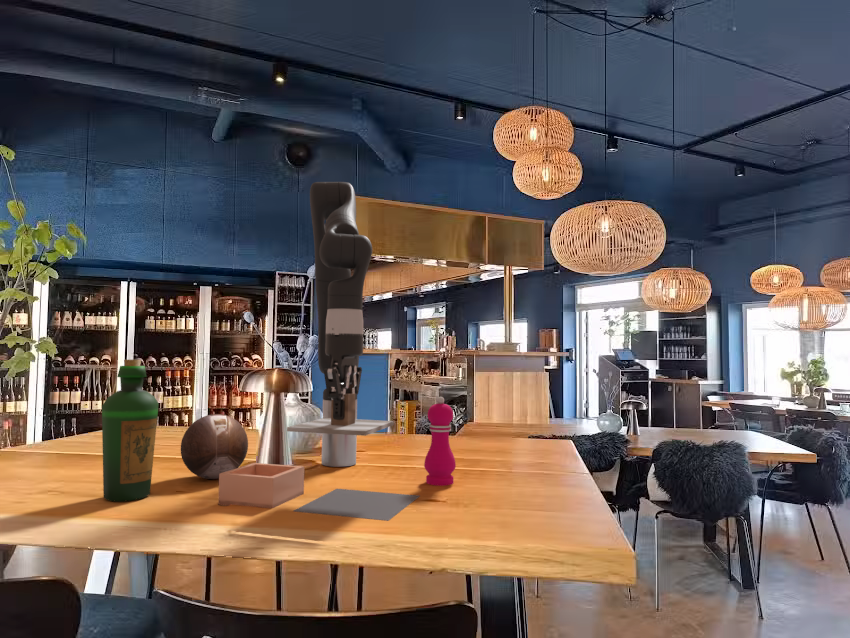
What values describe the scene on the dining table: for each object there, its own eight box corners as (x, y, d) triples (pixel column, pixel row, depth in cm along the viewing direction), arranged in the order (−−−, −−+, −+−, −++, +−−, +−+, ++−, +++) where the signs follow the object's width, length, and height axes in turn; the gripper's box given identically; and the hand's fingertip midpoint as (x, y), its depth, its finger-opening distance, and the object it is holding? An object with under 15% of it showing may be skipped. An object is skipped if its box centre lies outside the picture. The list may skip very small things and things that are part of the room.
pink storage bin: (253, 491, 124) (254, 462, 124) (303, 495, 120) (304, 466, 121) (218, 504, 112) (219, 473, 113) (272, 510, 109) (273, 478, 109)
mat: (336, 490, 125) (336, 488, 125) (420, 497, 120) (420, 495, 120) (292, 513, 107) (292, 510, 107) (388, 522, 102) (388, 520, 102)
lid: (324, 421, 125) (324, 390, 125) (393, 424, 121) (394, 392, 121) (287, 431, 110) (287, 395, 110) (365, 435, 105) (366, 398, 106)
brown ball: (198, 488, 125) (200, 419, 126) (168, 478, 136) (170, 413, 137) (259, 478, 137) (261, 414, 137) (227, 469, 147) (229, 410, 148)
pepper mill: (452, 488, 128) (453, 398, 129) (421, 486, 130) (422, 397, 131) (457, 481, 135) (458, 395, 137) (427, 479, 137) (428, 395, 138)
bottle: (146, 503, 113) (152, 360, 115) (88, 505, 111) (94, 359, 113) (162, 490, 124) (167, 359, 125) (109, 491, 122) (114, 359, 124)
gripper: (341, 333, 124) (340, 413, 123) (311, 331, 110) (309, 421, 110) (374, 333, 122) (373, 415, 121) (347, 331, 108) (346, 423, 108)
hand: (343, 417), depth 115 cm, fingers closed on lid, 3 cm apart
